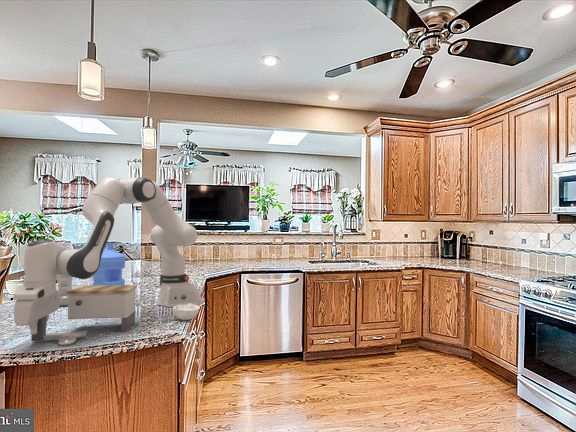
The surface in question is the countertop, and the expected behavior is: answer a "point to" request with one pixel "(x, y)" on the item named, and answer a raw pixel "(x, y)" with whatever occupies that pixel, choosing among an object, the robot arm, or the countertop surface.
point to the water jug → (110, 268)
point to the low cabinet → (103, 303)
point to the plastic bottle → (63, 288)
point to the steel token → (67, 341)
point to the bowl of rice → (185, 311)
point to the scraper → (43, 336)
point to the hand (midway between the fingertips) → (38, 331)
